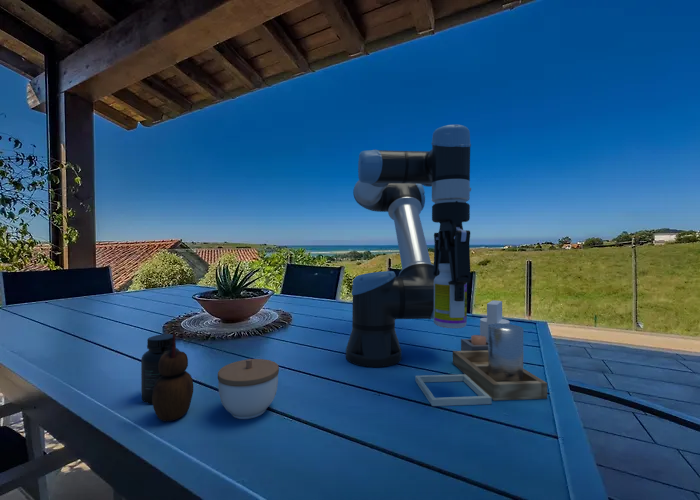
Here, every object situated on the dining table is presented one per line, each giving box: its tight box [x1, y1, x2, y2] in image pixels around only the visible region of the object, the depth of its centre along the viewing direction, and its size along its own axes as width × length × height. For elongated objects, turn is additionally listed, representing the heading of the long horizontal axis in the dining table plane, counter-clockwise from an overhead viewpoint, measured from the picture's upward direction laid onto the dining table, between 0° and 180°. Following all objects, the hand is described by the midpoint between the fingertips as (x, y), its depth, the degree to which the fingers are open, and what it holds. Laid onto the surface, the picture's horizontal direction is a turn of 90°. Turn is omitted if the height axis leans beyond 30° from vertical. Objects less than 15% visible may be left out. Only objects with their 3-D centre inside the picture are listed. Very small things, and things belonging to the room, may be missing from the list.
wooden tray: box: [452, 350, 548, 401], centre depth 74 cm, size 11×21×3 cm, turn 4°
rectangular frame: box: [415, 373, 493, 407], centre depth 67 cm, size 12×12×1 cm
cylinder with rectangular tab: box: [479, 299, 511, 340], centre depth 107 cm, size 9×9×12 cm
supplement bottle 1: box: [140, 333, 180, 405], centre depth 65 cm, size 7×7×12 cm
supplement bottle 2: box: [433, 263, 468, 329], centre depth 67 cm, size 7×7×13 cm
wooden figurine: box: [151, 329, 194, 422], centre depth 57 cm, size 7×6×15 cm
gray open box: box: [460, 338, 488, 351], centre depth 89 cm, size 7×7×4 cm
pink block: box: [470, 334, 486, 345], centre depth 89 cm, size 4×4×5 cm
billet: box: [488, 323, 524, 382], centre depth 69 cm, size 7×7×12 cm
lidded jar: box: [217, 358, 280, 420], centre depth 59 cm, size 11×11×9 cm
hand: (449, 313), depth 67 cm, fingers closed on supplement bottle 2, 7 cm apart
